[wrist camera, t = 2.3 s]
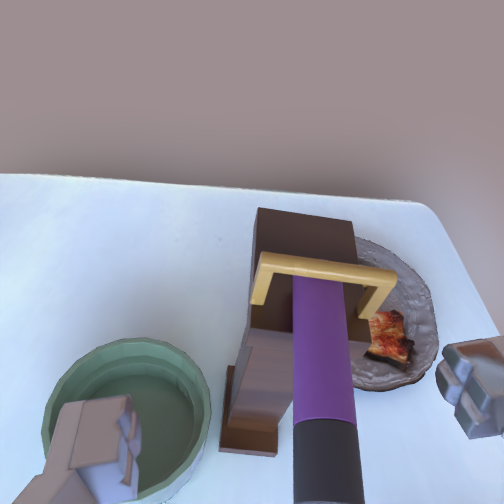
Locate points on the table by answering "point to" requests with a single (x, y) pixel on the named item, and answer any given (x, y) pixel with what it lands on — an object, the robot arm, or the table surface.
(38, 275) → the table surface
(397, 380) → the food plate
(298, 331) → the glue stick
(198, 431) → the bowl
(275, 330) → the stand
